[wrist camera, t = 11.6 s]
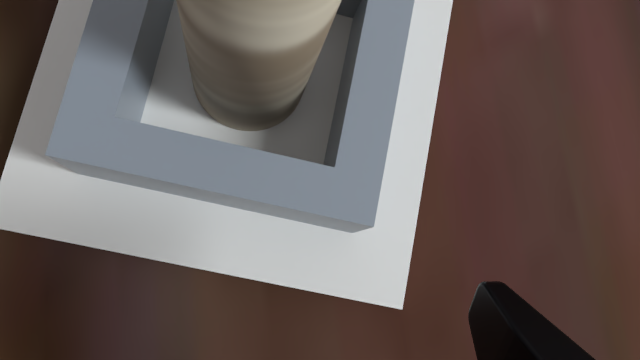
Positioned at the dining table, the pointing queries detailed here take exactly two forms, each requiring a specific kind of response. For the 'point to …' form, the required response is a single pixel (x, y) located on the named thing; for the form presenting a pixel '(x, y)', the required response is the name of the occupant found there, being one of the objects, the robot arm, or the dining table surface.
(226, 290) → the dining table surface
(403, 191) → the socket block
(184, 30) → the peg
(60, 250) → the dining table surface
